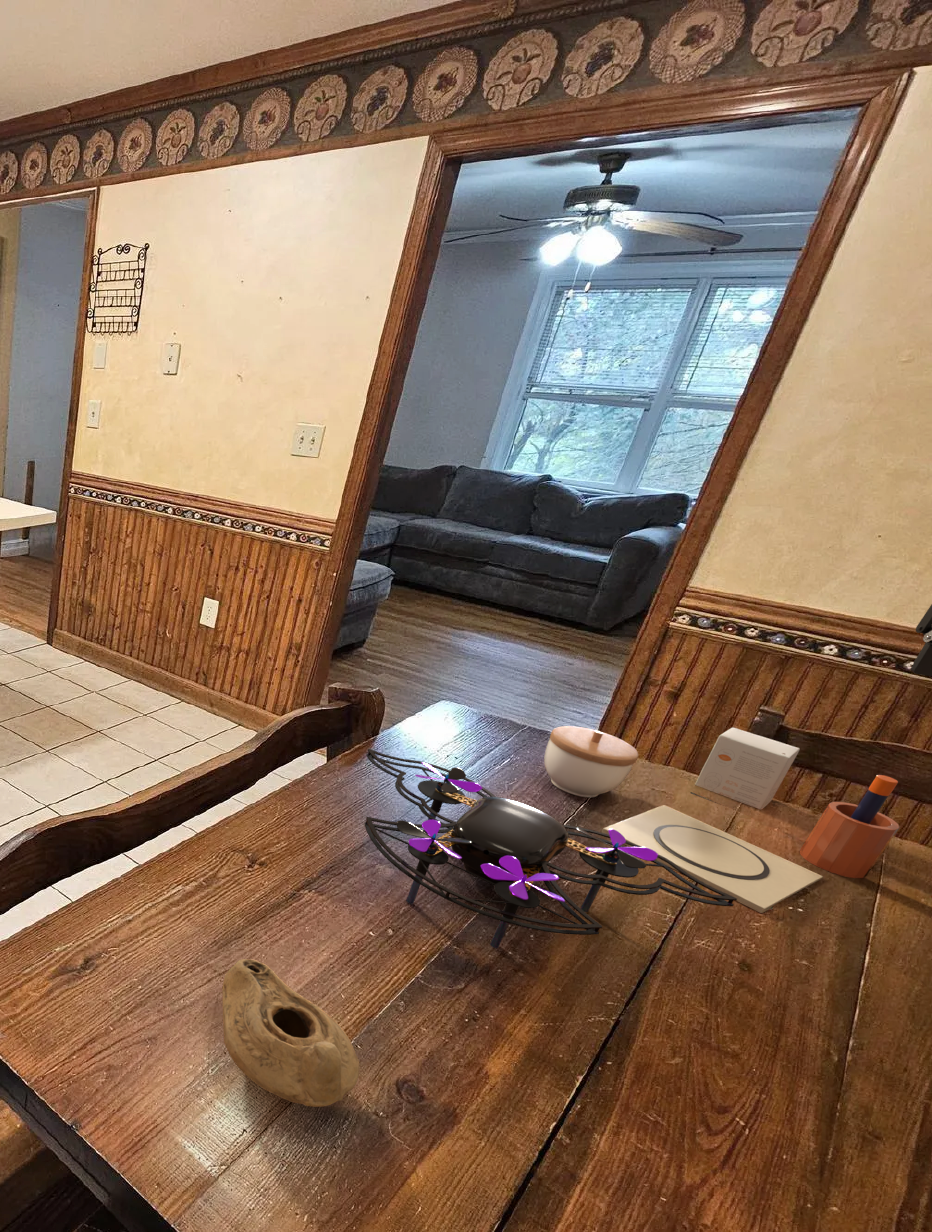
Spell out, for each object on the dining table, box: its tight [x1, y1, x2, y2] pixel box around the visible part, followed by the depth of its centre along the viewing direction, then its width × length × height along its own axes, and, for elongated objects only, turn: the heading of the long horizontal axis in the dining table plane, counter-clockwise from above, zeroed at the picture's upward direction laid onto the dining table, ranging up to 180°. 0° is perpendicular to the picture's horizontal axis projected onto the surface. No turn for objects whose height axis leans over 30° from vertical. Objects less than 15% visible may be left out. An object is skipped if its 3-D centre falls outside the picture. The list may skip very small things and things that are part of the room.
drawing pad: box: [601, 804, 824, 914], centre depth 104 cm, size 16×18×1 cm
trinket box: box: [543, 725, 640, 798], centre depth 117 cm, size 11×11×9 cm
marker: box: [850, 774, 899, 824], centre depth 101 cm, size 2×2×13 cm
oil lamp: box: [221, 958, 360, 1108], centre depth 69 cm, size 11×15×8 cm
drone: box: [364, 748, 737, 949], centre depth 91 cm, size 40×10×28 cm
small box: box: [689, 727, 800, 810], centre depth 115 cm, size 8×6×10 cm
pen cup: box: [799, 801, 900, 879], centre depth 102 cm, size 6×6×8 cm
